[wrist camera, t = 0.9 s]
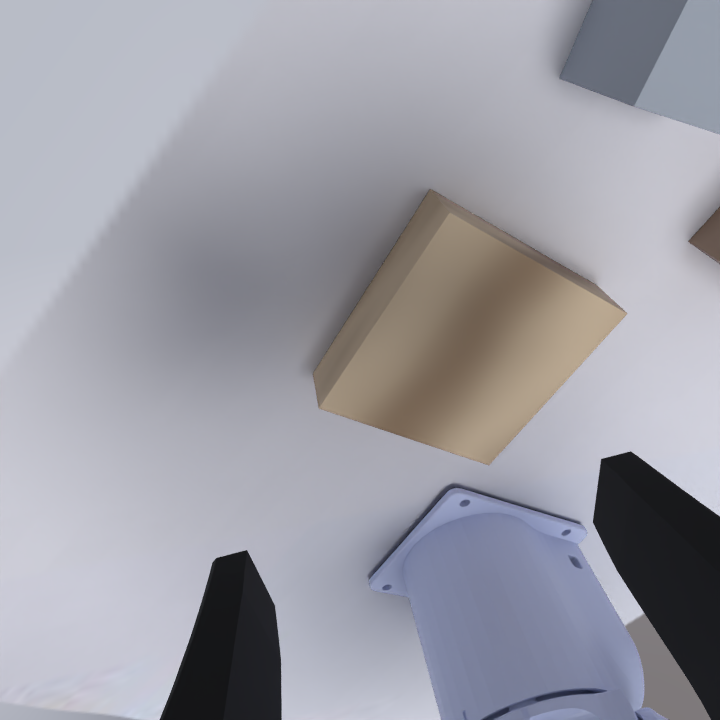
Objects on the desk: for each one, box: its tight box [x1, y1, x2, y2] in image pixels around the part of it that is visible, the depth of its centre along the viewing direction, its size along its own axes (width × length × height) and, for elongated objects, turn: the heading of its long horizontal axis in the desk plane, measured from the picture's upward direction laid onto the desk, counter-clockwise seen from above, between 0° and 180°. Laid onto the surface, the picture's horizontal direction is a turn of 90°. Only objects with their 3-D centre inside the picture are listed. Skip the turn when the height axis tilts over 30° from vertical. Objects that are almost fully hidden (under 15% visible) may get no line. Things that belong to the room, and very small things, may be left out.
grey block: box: [559, 0, 720, 134], centre depth 14 cm, size 4×4×4 cm
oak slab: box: [313, 189, 627, 465], centre depth 20 cm, size 8×8×2 cm
